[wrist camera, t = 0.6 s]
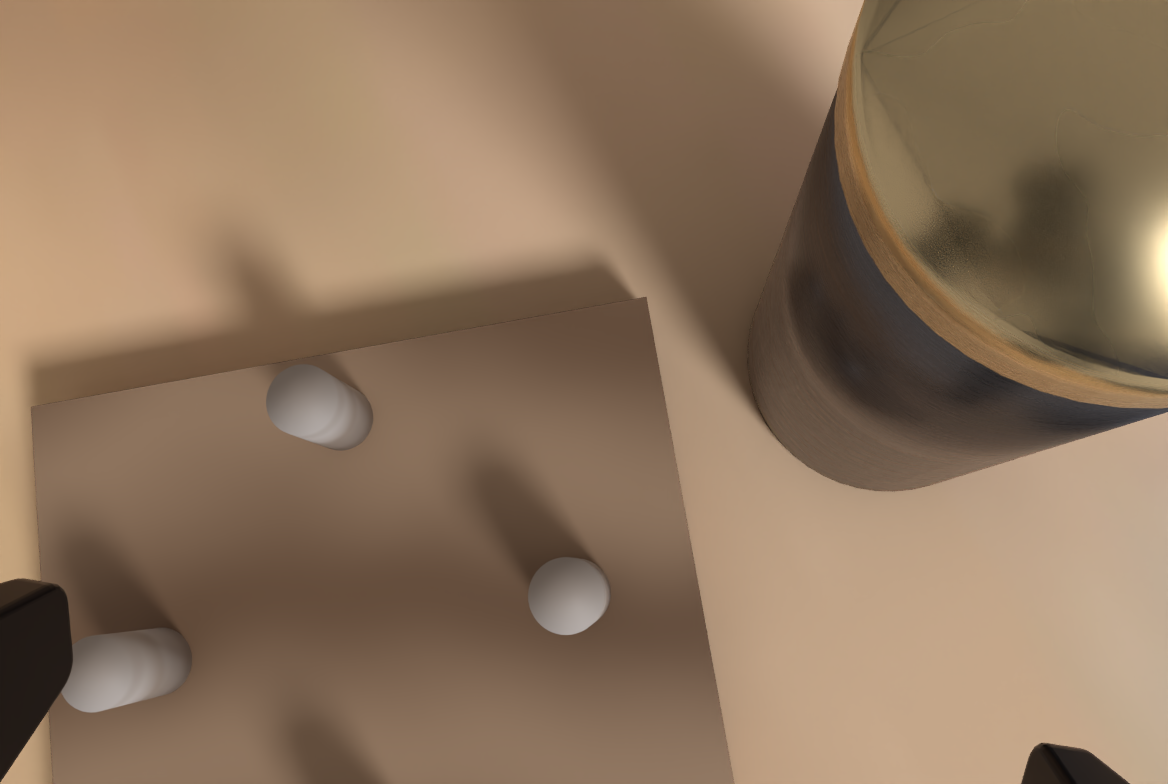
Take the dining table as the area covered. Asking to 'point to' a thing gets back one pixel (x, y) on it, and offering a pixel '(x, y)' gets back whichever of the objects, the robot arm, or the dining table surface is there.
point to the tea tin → (974, 242)
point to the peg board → (384, 568)
